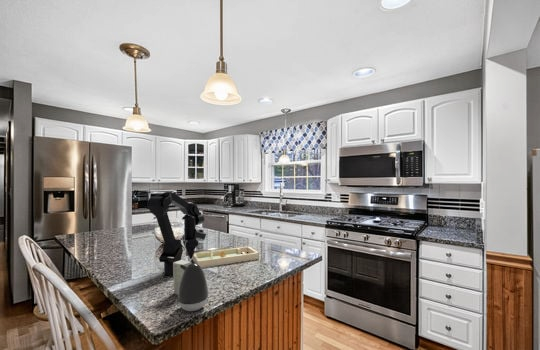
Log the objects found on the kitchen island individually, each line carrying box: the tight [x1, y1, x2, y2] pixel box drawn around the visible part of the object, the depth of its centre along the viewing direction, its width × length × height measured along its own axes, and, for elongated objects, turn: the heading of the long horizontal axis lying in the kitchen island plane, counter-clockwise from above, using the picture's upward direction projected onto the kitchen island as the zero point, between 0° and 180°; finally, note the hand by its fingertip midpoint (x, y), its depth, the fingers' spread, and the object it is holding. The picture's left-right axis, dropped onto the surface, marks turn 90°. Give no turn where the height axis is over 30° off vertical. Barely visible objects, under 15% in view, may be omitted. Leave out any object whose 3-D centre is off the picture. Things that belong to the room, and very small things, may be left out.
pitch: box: [192, 246, 260, 269], centre depth 142 cm, size 16×34×4 cm, turn 115°
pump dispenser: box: [177, 262, 209, 312], centre depth 87 cm, size 10×10×15 cm
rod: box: [185, 246, 230, 259], centre depth 139 cm, size 3×24×6 cm, turn 115°
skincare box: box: [172, 259, 192, 295], centre depth 99 cm, size 6×4×12 cm
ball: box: [220, 251, 226, 257], centre depth 143 cm, size 4×4×4 cm
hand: (189, 256), depth 135 cm, fingers open, 9 cm apart
